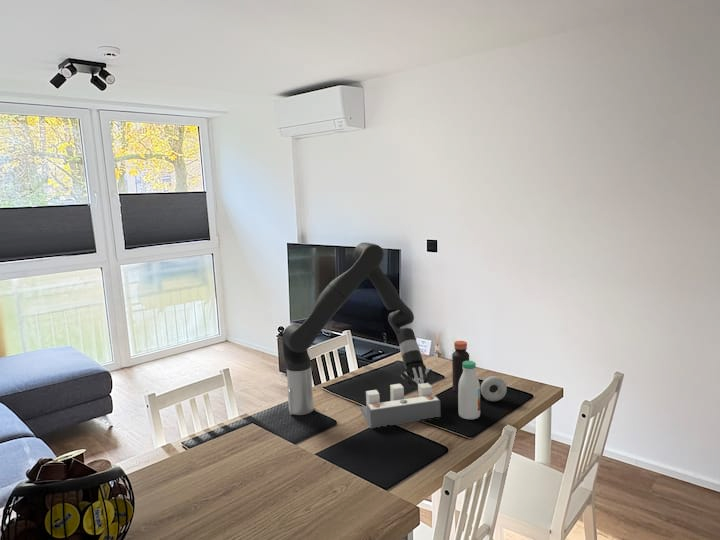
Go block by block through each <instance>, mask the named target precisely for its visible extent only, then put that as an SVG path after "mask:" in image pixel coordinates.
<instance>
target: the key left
mask: <svg viewBox="0 0 720 540" xmlns="http://www.w3.org/2000/svg"><path fill="white" fill-rule="evenodd" d="M380 397H381V396H380V393H379V391H378V389H372V390H366V391H365V400H366V401H365V403H366V404H365V406H367V405H368V404H374V403H381V401H380Z"/></svg>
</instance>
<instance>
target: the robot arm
mask: <svg viewBox="0 0 720 540" xmlns="http://www.w3.org/2000/svg"><path fill="white" fill-rule="evenodd" d="M353 254H354V255H353V256H354V259H355V262H354V264H353V265H352V266H351V267H350V268H348V270H346V271H344V272H343V273H341V274H340V275H339V276H337V277H335V278H334V279H332V280H331V281H330V282H329V283H328V284H327V286H326V287H325V288H324V289H323V290H322V291H321V292H320V293H319V295H318V297H317V300H316V302H315V304H314V306H313V309H312V310H311V313H310V314H309V315H308V316H307V318H306V319H305V320H304V321H303V322H302V323H301V324H298V323H293V324H289V325H288V326H286V327H285V329H284V330H283V334H282V350H283V357H284V362H285V365H286V378H287V381H286V382H287V386H286V387H287V388H286V389H287V402H288V411H289V415H290V416H292V415H294V416H304V415H308V414H310V413H312V412H313V411H314V410H315V409H314V406H315V405H314V394H313V377H312V376H313V375H312V360H311V357H310V355H309V352H308V350H309V348H310V347H311V346H312V344H313V343H314V342H315V340H316V339H317V337H318V336H319V334H320V333H321V332H322V330H323V329H324V327H325V326H326V325H327V324H328V322H330V320H331V319H333V317H334V316H335V314H336V313H337V312H338V311H339V310H340V309H341V308H342V307H343V305H344V304H345V303H346V302H347V300H348V299H349V298H350V297H351V295H352V294H353V293H354V292H355V291H356V290H357V289H358V288H359V286H360V285H361V284H362V282H363V281H364V280H366V279H367V277H368V278H369V280H370V282H371V283H372V285H373V286H374V288H375V290H376V292H377V293H378V295H379V299H381V301H382V303H383V305H384V307H385V308H386V309H387V310H389V311H392V312H389V314H388V317H387V321H388V323H389V325H390V326H391V328H392V330H393V331H394V333H395V335H396V339H397V342H398V345H399V351H400V355H401V358H402V363H403V365H404V372H402V374H401V375H400V378H401V379H402V380H403V381H404V382H405V383H406V384H408V385H409V386H410V387H415V388H416V391H417V392H416V393H418V384H422V383H429V379H430V378H431V375H432V374H433V369H429V368H427V366H426V365H425V363H424V360H423V357H422V353H421V350H420V347H419V344H418V342H417V338H416V336H415V331H414V330H413V329H412V328H410V327H406V326H407V325H410V324H412V323H413V322H414V320H415V316H414V313H413V311H412V310H411V308H410V307H409V306H408V305H407V304H406V303H405V302H404V301H403V300H402V298H401V297H400V294H399V293H398V291H397V289H396V287H395V286H394V285H393V283H392V282H391V280H390V279H389V278H388V276H387V275H386V274H385V273H384V272H383V270H382V269H381V267H380V266H379V265H381V263H382V261H383V260H384V259H383V258H384V249H383V248H382V247H381V246H380V245H378V244H376V243H370V242H360V243H359V244H357V245H356V246H355V248H354V251H353ZM393 310H395V311H393ZM404 326H405V327H404ZM402 327H404V328H402ZM424 375H426V376H425V377H424Z"/></svg>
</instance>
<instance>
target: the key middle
mask: <svg viewBox="0 0 720 540" xmlns="http://www.w3.org/2000/svg"><path fill="white" fill-rule="evenodd" d="M389 388H390V393H389V394H390V401H395V400H402V399H405V389H404V388H405V387H404V386H403V385H402V384H401V383H394V384H390V385H389Z"/></svg>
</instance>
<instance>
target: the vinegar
mask: <svg viewBox="0 0 720 540" xmlns="http://www.w3.org/2000/svg"><path fill="white" fill-rule="evenodd" d="M467 349H468V342H467V341H464V340H456V341H455V342H454V351H453V353H452V355H451V358H452V361H451V362H452V364H451V366H452V368H451V369H452V371H451V372H452V390H453V391H454V392H456V393H458V384H459V380H460V377H461V375H462V373H463V368H462V367H463V366H462V363H463V362H464V361H470V353H469V352H467Z"/></svg>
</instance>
